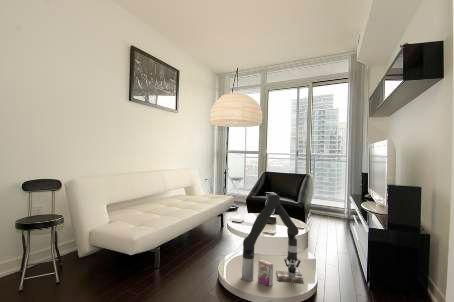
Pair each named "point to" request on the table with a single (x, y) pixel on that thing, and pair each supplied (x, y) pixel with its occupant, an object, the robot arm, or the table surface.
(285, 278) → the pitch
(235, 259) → the table surface
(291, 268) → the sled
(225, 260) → the table surface
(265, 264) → the candy bar box
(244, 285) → the table surface
